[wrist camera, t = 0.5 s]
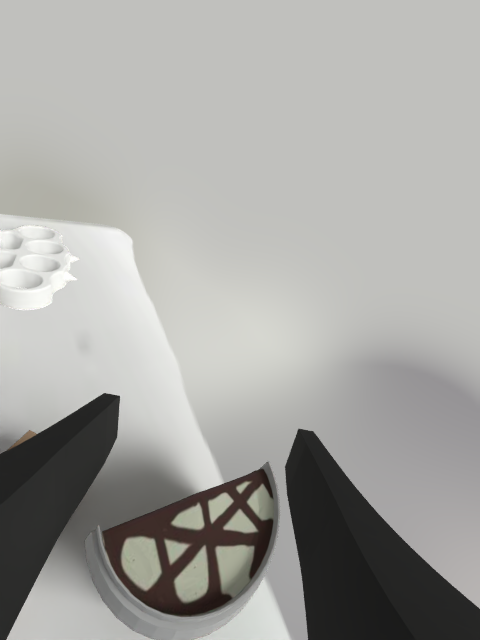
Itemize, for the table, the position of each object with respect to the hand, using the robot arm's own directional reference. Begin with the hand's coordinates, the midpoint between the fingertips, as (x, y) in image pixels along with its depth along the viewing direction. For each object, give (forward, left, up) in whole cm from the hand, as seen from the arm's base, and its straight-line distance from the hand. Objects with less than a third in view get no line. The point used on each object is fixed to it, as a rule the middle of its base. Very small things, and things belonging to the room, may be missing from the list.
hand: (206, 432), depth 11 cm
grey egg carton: (+21, +33, -19) cm, 44 cm away
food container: (-1, -4, -19) cm, 19 cm away
